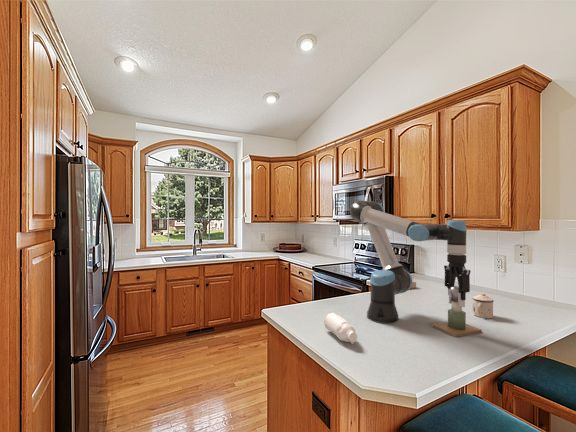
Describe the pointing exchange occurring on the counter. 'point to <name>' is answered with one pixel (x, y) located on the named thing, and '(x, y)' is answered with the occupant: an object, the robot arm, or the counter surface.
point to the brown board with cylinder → (456, 323)
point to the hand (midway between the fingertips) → (456, 304)
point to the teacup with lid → (483, 306)
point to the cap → (454, 293)
